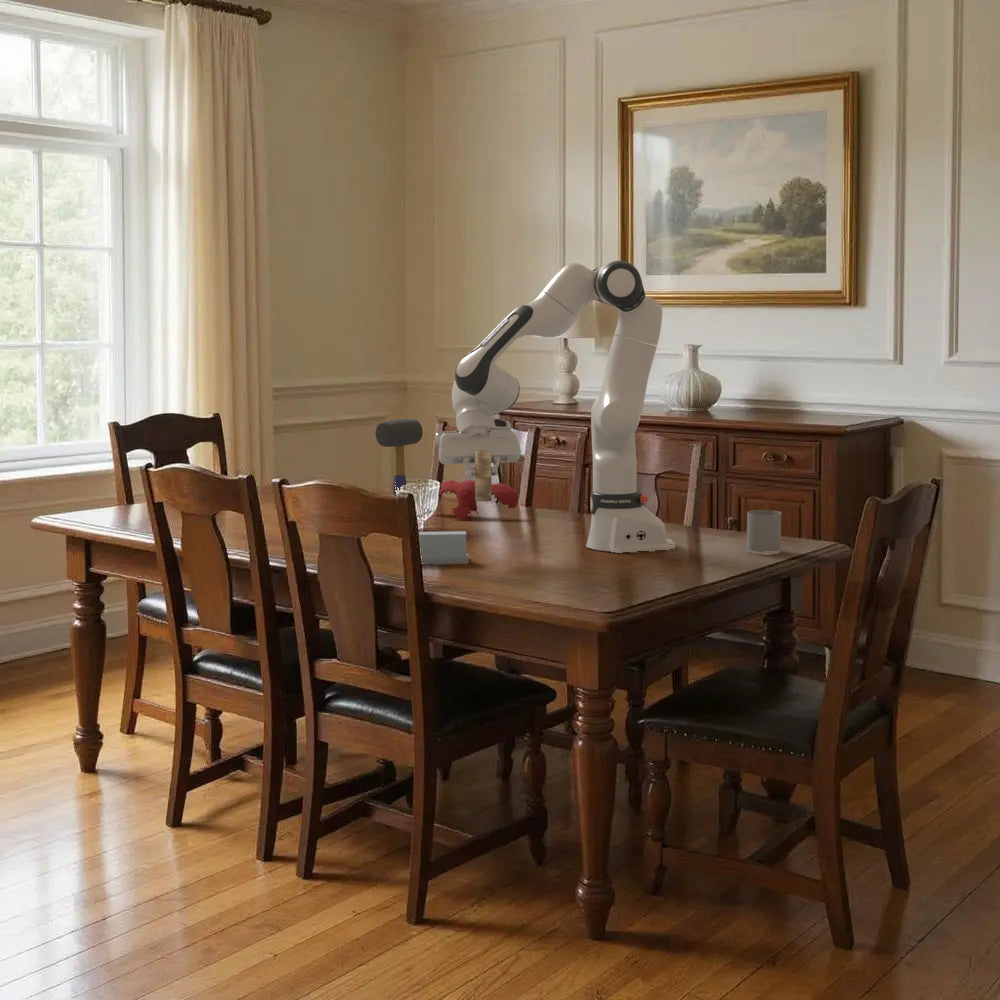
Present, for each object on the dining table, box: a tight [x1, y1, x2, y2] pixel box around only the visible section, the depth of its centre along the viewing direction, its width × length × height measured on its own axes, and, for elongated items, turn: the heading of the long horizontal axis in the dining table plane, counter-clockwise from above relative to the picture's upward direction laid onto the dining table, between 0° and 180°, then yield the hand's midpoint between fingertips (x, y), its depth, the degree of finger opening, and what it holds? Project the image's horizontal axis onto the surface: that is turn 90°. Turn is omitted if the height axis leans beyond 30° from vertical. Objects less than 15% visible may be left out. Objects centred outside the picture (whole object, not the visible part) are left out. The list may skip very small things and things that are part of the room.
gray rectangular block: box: [418, 530, 470, 566], centre depth 336 cm, size 15×7×7 cm, turn 93°
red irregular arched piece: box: [439, 479, 518, 520], centre depth 402 cm, size 28×9×15 cm
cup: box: [746, 509, 782, 552], centre depth 345 cm, size 8×8×10 cm
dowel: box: [474, 451, 493, 502], centre depth 340 cm, size 4×4×12 cm
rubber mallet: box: [375, 418, 423, 495], centre depth 384 cm, size 12×8×30 cm, turn 136°
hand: (483, 474), depth 339 cm, fingers closed on dowel, 4 cm apart
